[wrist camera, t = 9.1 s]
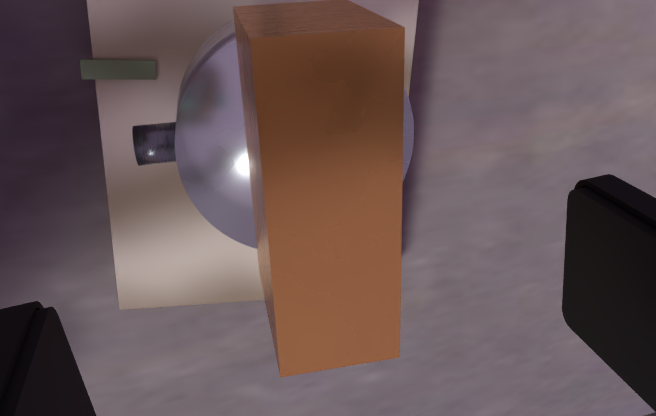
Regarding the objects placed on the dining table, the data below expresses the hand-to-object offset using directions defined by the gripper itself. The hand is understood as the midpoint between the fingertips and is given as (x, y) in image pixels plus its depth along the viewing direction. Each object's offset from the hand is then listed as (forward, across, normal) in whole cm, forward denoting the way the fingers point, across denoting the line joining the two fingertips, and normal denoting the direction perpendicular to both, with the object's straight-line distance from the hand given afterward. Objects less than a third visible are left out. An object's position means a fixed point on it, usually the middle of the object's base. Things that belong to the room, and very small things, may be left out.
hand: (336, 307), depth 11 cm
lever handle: (+11, 0, -1) cm, 11 cm away
